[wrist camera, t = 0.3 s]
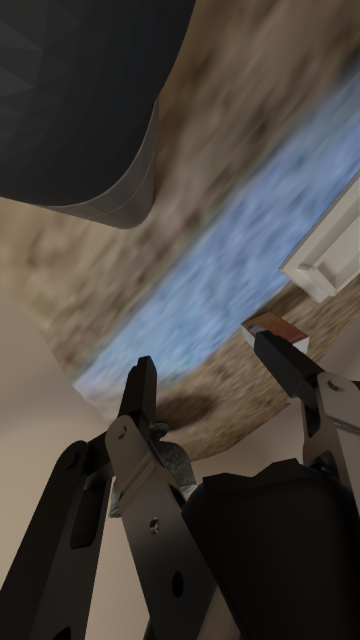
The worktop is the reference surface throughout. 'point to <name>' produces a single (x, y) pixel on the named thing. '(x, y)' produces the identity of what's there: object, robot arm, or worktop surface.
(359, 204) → the off-white tray
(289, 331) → the small box
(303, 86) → the worktop surface
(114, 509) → the decorative bowl
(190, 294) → the worktop surface
